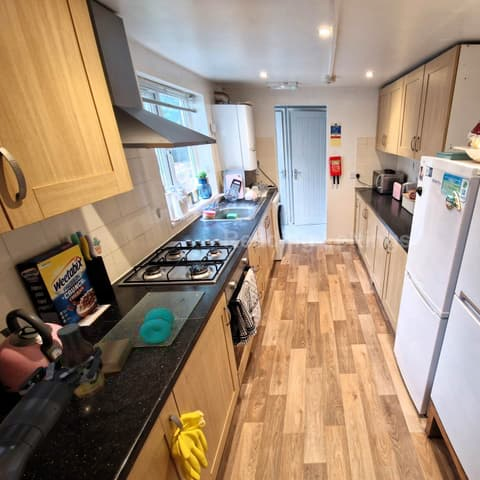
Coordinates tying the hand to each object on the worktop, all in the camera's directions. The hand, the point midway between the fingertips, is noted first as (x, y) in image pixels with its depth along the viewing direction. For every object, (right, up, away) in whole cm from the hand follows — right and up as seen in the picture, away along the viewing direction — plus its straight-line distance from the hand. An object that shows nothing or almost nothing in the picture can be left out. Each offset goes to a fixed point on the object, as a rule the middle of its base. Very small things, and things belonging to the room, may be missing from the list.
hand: (82, 351), depth 67 cm
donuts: (-2, -9, +35) cm, 37 cm away
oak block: (-12, -13, +24) cm, 30 cm away
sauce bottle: (0, -11, +2) cm, 11 cm away
